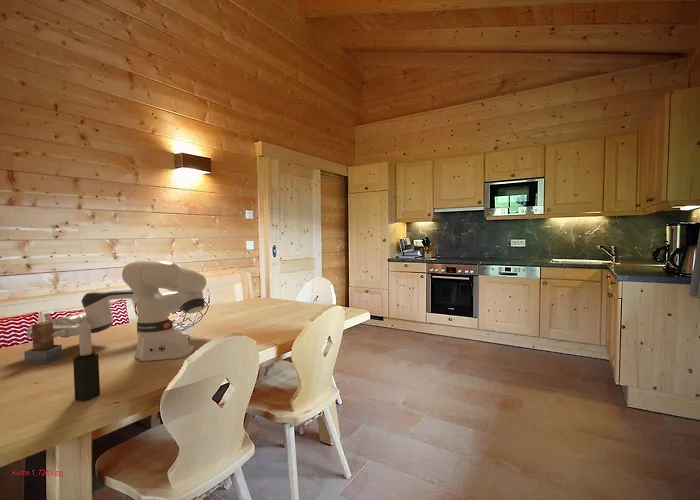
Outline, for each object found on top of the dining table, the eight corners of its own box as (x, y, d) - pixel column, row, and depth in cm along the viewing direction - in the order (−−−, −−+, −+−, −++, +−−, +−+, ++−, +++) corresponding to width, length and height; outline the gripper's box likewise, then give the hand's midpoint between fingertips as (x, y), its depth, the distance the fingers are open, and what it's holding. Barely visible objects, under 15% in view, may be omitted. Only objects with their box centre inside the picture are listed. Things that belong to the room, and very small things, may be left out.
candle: (86, 401, 106) (83, 318, 105) (72, 400, 107) (69, 318, 106) (101, 393, 111) (98, 314, 110) (88, 392, 112) (85, 314, 111)
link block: (54, 355, 144) (52, 321, 144) (45, 359, 140) (43, 324, 139) (42, 356, 144) (41, 322, 144) (33, 359, 140) (31, 324, 139)
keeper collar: (63, 356, 147) (62, 344, 146) (46, 363, 138) (45, 351, 138) (42, 356, 146) (41, 344, 146) (23, 364, 138) (23, 351, 137)
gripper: (92, 333, 155) (68, 342, 141) (44, 334, 154) (15, 344, 141) (91, 319, 155) (67, 327, 141) (43, 320, 154) (14, 328, 140)
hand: (41, 335), depth 141 cm, fingers open, 8 cm apart
